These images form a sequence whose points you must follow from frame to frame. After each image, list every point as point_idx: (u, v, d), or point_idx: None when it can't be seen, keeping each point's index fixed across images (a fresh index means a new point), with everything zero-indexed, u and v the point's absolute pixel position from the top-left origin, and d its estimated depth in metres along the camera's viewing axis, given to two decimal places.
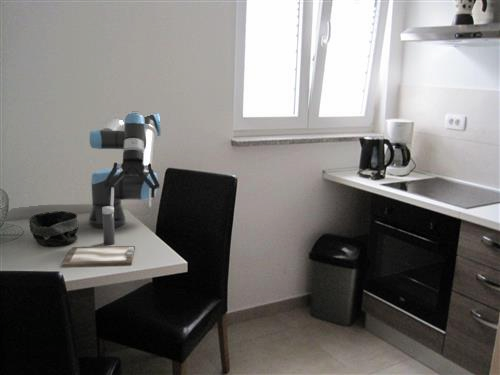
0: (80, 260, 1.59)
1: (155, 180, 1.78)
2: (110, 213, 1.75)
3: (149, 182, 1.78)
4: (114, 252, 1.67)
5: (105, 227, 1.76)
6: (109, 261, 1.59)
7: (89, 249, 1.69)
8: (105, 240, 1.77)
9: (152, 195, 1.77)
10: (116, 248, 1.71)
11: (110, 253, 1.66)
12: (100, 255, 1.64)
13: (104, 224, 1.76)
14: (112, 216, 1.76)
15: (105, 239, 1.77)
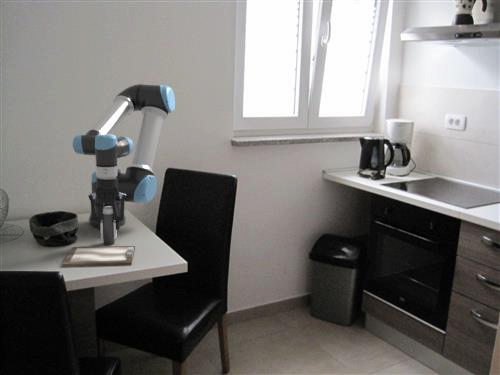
0: (80, 260, 1.59)
1: (122, 213, 1.76)
2: (110, 213, 1.75)
3: (115, 215, 1.76)
4: (114, 252, 1.67)
5: (105, 227, 1.76)
6: (109, 261, 1.59)
7: (89, 249, 1.69)
8: (105, 240, 1.77)
9: (117, 228, 1.78)
10: (116, 248, 1.71)
11: (110, 253, 1.66)
12: (100, 255, 1.64)
13: (104, 224, 1.76)
14: (112, 216, 1.76)
15: (105, 239, 1.77)
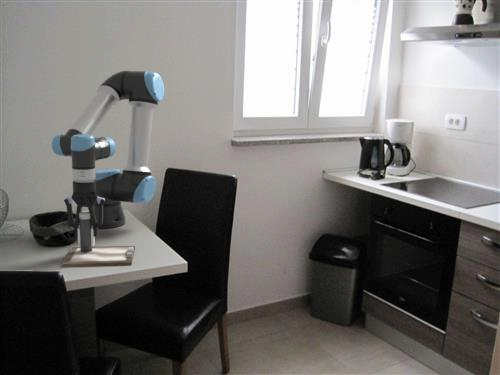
0: (80, 260, 1.59)
1: (100, 219, 1.65)
2: (87, 218, 1.64)
3: (93, 221, 1.65)
4: (114, 252, 1.67)
5: (82, 233, 1.65)
6: (109, 261, 1.59)
7: None
8: (82, 247, 1.66)
9: (94, 235, 1.67)
10: (116, 248, 1.71)
11: (110, 253, 1.66)
12: (100, 255, 1.64)
13: (81, 230, 1.65)
14: (89, 221, 1.65)
15: (81, 246, 1.66)
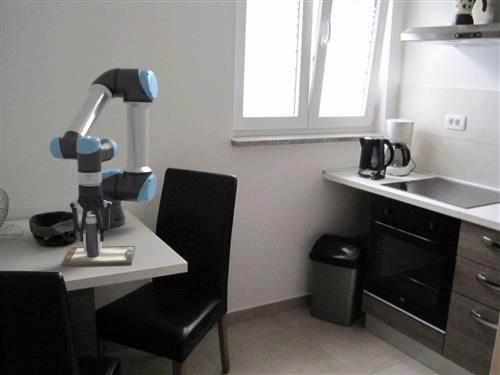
0: (80, 260, 1.59)
1: (106, 223, 1.60)
2: (94, 222, 1.59)
3: (100, 225, 1.60)
4: (114, 252, 1.67)
5: (89, 238, 1.60)
6: (109, 261, 1.59)
7: None
8: (89, 252, 1.61)
9: (101, 240, 1.62)
10: (116, 248, 1.71)
11: (110, 253, 1.66)
12: (100, 255, 1.64)
13: (87, 234, 1.60)
14: (96, 226, 1.60)
15: (88, 251, 1.61)
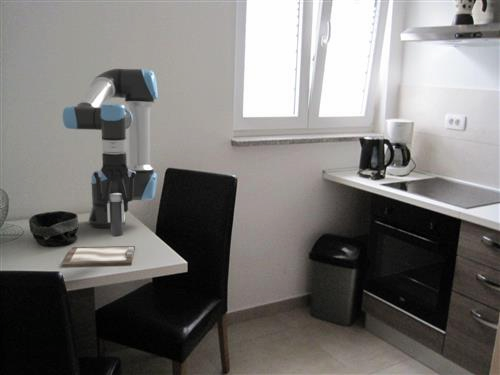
0: (80, 260, 1.59)
1: (130, 193, 1.57)
2: (119, 200, 1.57)
3: (124, 195, 1.57)
4: (114, 252, 1.67)
5: (114, 217, 1.58)
6: (109, 261, 1.59)
7: (89, 249, 1.69)
8: (113, 231, 1.59)
9: (125, 210, 1.59)
10: (116, 248, 1.71)
11: (110, 253, 1.66)
12: (100, 255, 1.64)
13: (112, 213, 1.58)
14: None
15: (113, 230, 1.59)
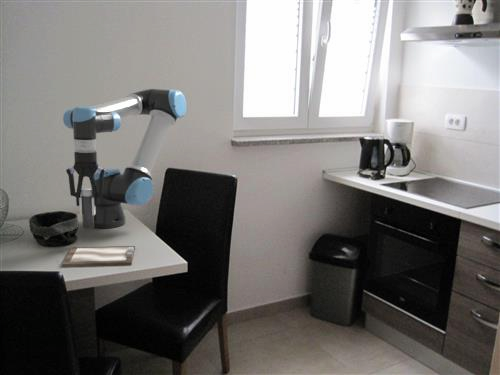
0: (80, 260, 1.59)
1: (100, 188, 1.72)
2: (89, 195, 1.72)
3: (94, 190, 1.72)
4: (114, 252, 1.67)
5: (85, 210, 1.72)
6: (109, 261, 1.59)
7: (89, 249, 1.69)
8: (84, 223, 1.74)
9: (95, 204, 1.73)
10: (116, 248, 1.71)
11: (110, 253, 1.66)
12: (100, 255, 1.64)
13: (83, 207, 1.72)
14: (91, 198, 1.73)
15: (84, 222, 1.74)
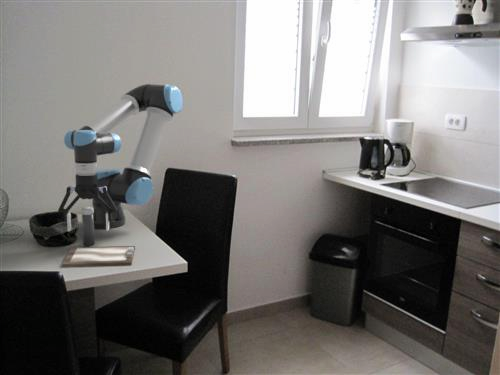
0: (80, 260, 1.59)
1: (111, 205, 1.74)
2: (90, 214, 1.73)
3: (105, 207, 1.74)
4: (114, 252, 1.67)
5: (85, 228, 1.74)
6: (109, 261, 1.59)
7: (89, 249, 1.69)
8: (85, 241, 1.75)
9: (109, 220, 1.75)
10: (116, 248, 1.71)
11: (110, 253, 1.66)
12: (100, 255, 1.64)
13: (84, 225, 1.74)
14: (92, 217, 1.74)
15: (85, 240, 1.75)
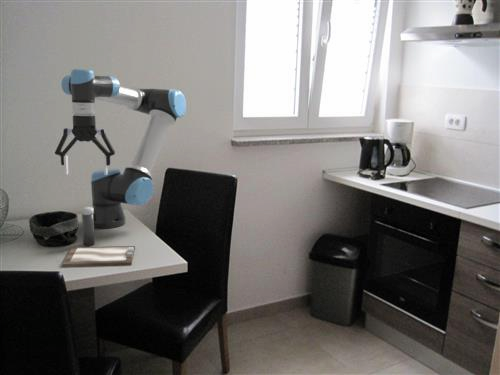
0: (80, 260, 1.59)
1: (109, 148, 1.69)
2: (90, 214, 1.73)
3: (103, 150, 1.69)
4: (114, 252, 1.67)
5: (85, 228, 1.74)
6: (109, 261, 1.59)
7: (89, 249, 1.69)
8: (85, 241, 1.75)
9: (107, 164, 1.71)
10: (116, 248, 1.71)
11: (110, 253, 1.66)
12: (100, 255, 1.64)
13: (84, 225, 1.74)
14: (92, 217, 1.74)
15: (85, 240, 1.75)
